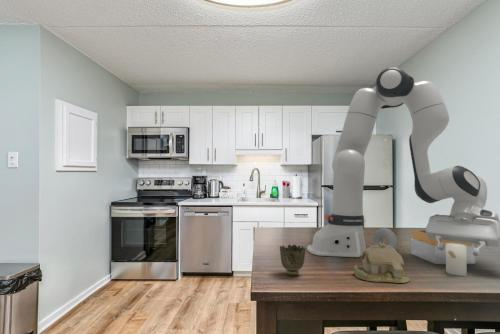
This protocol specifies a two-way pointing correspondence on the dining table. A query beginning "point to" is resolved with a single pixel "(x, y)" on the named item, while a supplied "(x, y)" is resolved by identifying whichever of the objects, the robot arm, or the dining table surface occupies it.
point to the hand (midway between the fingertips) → (457, 251)
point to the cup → (292, 258)
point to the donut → (387, 234)
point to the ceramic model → (381, 265)
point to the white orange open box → (435, 248)
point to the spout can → (456, 259)
